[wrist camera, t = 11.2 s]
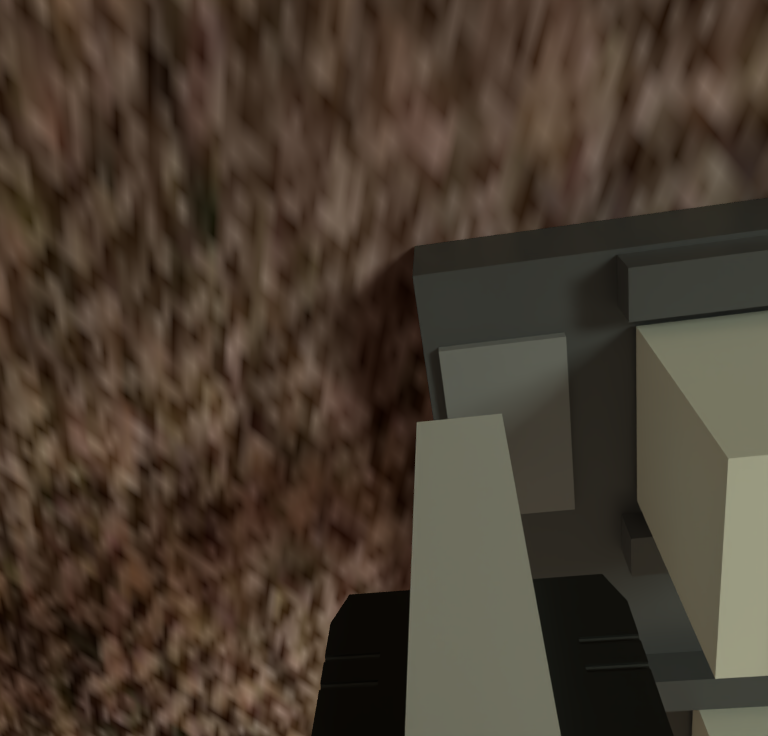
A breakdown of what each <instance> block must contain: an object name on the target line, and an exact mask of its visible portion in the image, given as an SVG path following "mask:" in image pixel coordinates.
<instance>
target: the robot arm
mask: <svg viewBox="0 0 768 736" xmlns="http://www.w3.org/2000/svg"><path fill="white" fill-rule="evenodd" d="M320 684H321V690H319V694H318V700H317V706H316V712H315V718H314V724H313V729H312V735H311V736H674V735H673V732H672V729H671V726H670V723H669V720H668V718H667V715H666V712H665V709H664V706H663V703H662V700H661V697H660V694H659V691H658V688H657V685H656V683H655V680H654V677H653V674H652V671H651V669H650V668H649V664H648V659H647V656H646V653H645V650H644V648H643V645H642V642H641V640H640V639H639V633H638V630H637V627H636V624H635V621H634V618H633V616H632V613H631V610H630V607H629V604H628V601H627V600H626V599H625V598H624V596H623V595H622V594H621V593H620V592H619V591H618V590H617V589H616V588H615V587H614V586H613V585H612V584H611V583H610V582H609V581H608V579H607V578H606V577H605V576H604V575H603V574H593V575H579V576H566V577H552V578H539V579H532V575H531V570H530V564H529V559H528V553H527V548H526V542H525V537H524V531H523V526H522V520H521V515H520V510H519V504H518V499H517V493H516V488H515V482H514V477H513V471H512V466H511V460H510V455H509V450H508V444H507V439H506V433H505V428H504V422H503V417H502V414H493V415H483V416H473V417H463V418H454V419H444V420H434V421H424V422H417V430H416V456H415V482H414V508H413V534H412V560H411V587H410V590H406V591H393V592H379V593H365V594H352V595H349V596H348V598H347V599H346V601H345V602H344V604H343V605H342V607H341V608H340V610H339V611H338V613H337V614H336V616H335V617H334V619H333V620H332V622H331V624H330V630H329V636H328V642H327V647H326V653H325V662H324V665H323V671H322V677H321V683H320Z"/></svg>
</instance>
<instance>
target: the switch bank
mask: <svg viewBox="0 0 768 736" xmlns="http://www.w3.org/2000/svg"><path fill="white" fill-rule="evenodd" d="M413 283H414V290H415V297H416V303H417V310H418V317H419V324H420V331H421V338H422V344H423V351H424V358H425V365H426V372H427V379H428V385H429V392H430V399H431V406H432V413H433V419H434V420H444V419H454V418H463V417H473V416H483V415H493V414H502V417H503V422H504V428H505V433H506V439H507V444H508V450H509V455H510V460H511V466H512V471H513V477H514V482H515V488H516V493H517V499H518V504H519V510H520V515H521V520H522V526H523V531H524V537H525V542H526V548H527V553H528V559H529V564H530V570H531V575H532V579H539V578H552V577H566V576H579V575H593V574H603V575H604V576H605V577H606V578H607V579H608V581H609V582H610V583H611V584H612V585H613V586H614V587H615V588H616V589H617V590H618V591H619V592H620V593H621V594H622V595H623V596H624V598H625V599H626V600H627V601H628V604H629V607H630V610H631V613H632V616H633V618H634V621H635V624H636V627H637V630H638V633H639V639H640V640H641V642H642V645H643V648H644V650H645V653H646V656H647V659H648V664H649V668H650V669H651V671H652V674H653V677H654V680H655V683H656V685H657V688H658V691H659V694H660V697H661V700H662V703H663V706H664V709H665V712H666V715H667V718H668V720H669V723H670V726H671V729H672V732H673V735H674V736H692V720H693V710H709V709H728V708H746V707H765V706H768V676H754V677H737V678H720V679H715V677H714V675H713V673H712V670H711V668H710V666H709V663H708V661H707V659H706V657H705V654H704V652H703V650H702V648H701V645H700V643H699V641H698V638H697V636H696V634H695V632H694V629H693V627H692V625H691V622H690V620H689V618H688V616H687V613H686V611H685V609H684V607H683V604H682V602H681V600H680V597H679V595H678V593H677V591H676V588H675V586H674V584H673V582H672V579H671V577H670V575H669V572H668V570H667V568H666V566H665V563H664V561H663V559H662V556H661V554H660V552H659V550H658V547H657V545H656V543H655V541H654V538H653V536H652V534H651V531H650V529H649V527H648V525H647V522H646V520H645V518H644V515H643V513H642V511H641V509H640V506H639V504H638V502H637V396H636V326H641V325H649V324H658V323H666V322H675V321H683V320H691V319H700V318H708V317H717V316H725V315H733V314H742V313H750V312H759V311H767V310H768V198H763V199H756V200H749V201H741V202H734V203H727V204H720V205H712V206H705V207H698V208H690V209H683V210H676V211H669V212H661V213H654V214H647V215H640V216H632V217H625V218H618V219H610V220H603V221H596V222H589V223H581V224H574V225H567V226H560V227H552V228H545V229H538V230H530V231H523V232H516V233H509V234H501V235H494V236H487V237H479V238H472V239H465V240H458V241H450V242H443V243H436V244H429V245H421V246H415V250H414V263H413Z"/></svg>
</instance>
